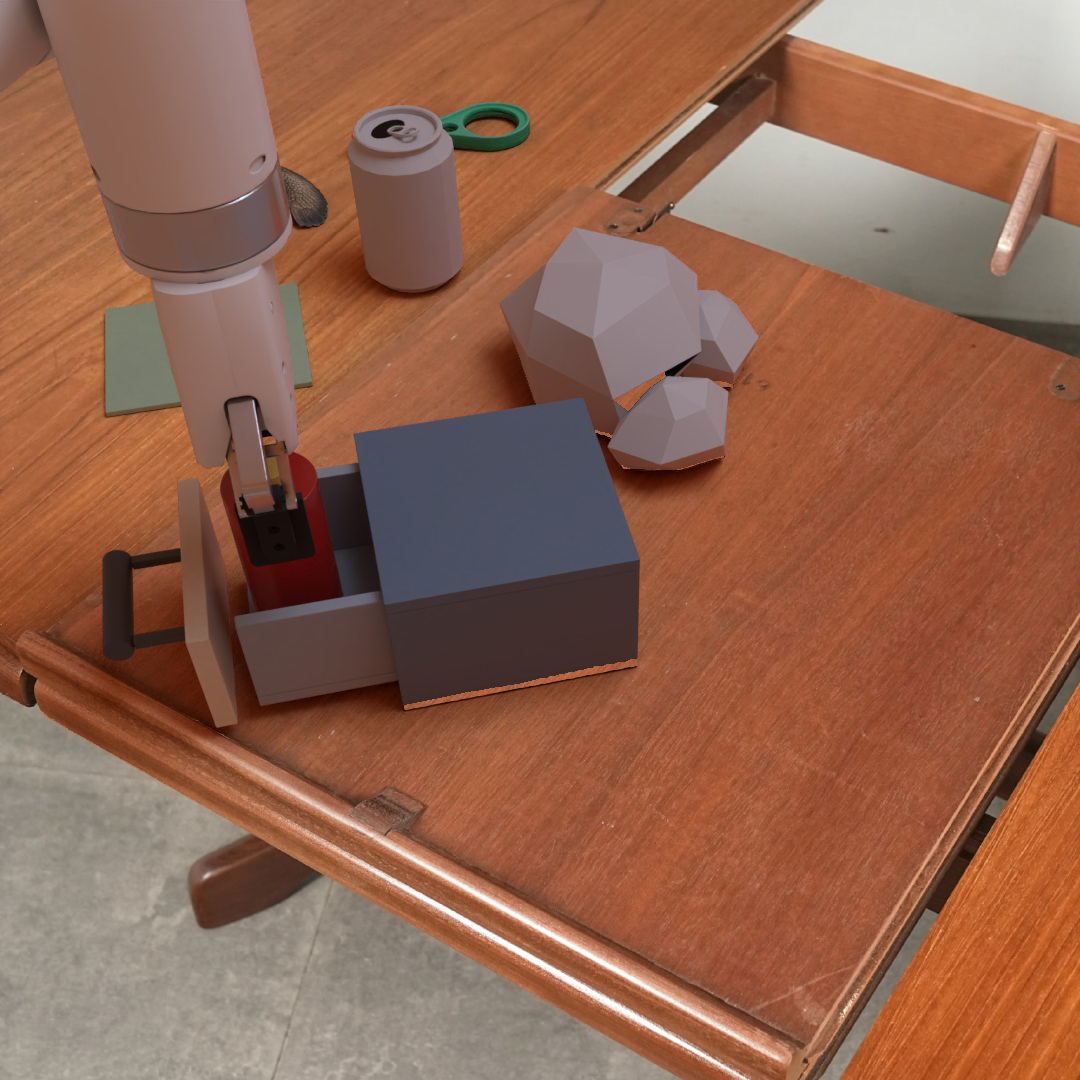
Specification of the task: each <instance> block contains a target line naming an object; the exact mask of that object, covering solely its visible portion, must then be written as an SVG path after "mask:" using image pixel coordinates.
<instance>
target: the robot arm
mask: <svg viewBox="0 0 1080 1080" xmlns="http://www.w3.org/2000/svg"><path fill="white" fill-rule="evenodd" d="M53 59H55V61H56V63H57V64H56V65H57V67H58V70H59V73H60V76H61V79H62V82H63V85H64V88H65V91H66V94H67V97H68V100H69V103H70V107H71V110H72V113H73V115H74V118H75V119H74V120H75V122H76V124H77V128H78V130H79V134H80V137H81V139H82V143H83V146H84V149H85V152H86V155H87V158H88V161H89V165H90V168H91V170H92V173H93V177H94V179H95V182H96V185H97V189H98V191H99V194H100V197H101V200H102V203H103V207H104V210H105V212H106V215H107V216H106V217H107V218H108V221H109V224H110V227H111V231H112V233H113V237H114V240H115V241H116V246H117V249H118V252H119V255H120V257H121V259H122V261H123V262H124V263H125V264H126V265H127V266H128V268H130V269H131V270H133V271H134V272H136V273H138V274H140V275H142V276H144V277H147V278H148V279H149V281H150V288H151V292H152V296H153V302H155V306H156V311H157V315H158V319H159V324H160V328H161V332H162V336H163V340H164V344H165V347H166V351H167V355H168V359H169V363H170V366H171V370H172V374H173V377H174V381H175V384H176V388H177V391H178V395H179V398H180V402H181V406H180V407H181V410H182V413H183V416H184V420H185V423H186V427H187V430H188V435H189V438H190V442H191V446H192V449H193V455H194V457H195V461H196V462H197V464H198V465H200V466H201V467H203V468H204V469H206V470H212V468H218V467H223V466H224V464H225V461H226V463H227V467H228V468H229V472H230V477H231V482H232V487H233V491H234V496H235V501H236V503H234V507H235V513H236V516H237V519H238V522H239V526H240V529H241V532H242V535H243V539H244V542H245V545H246V549H247V552H248V555H249V558H250V562H251V564H252V565H253V566H257V567H261V566H266V565H272V564H278V563H283V562H289V561H294V560H300V559H306V558H310V557H312V556H314V555H315V544H314V540H313V536H312V532H311V528H310V524H309V520H308V516H307V512H306V508H305V504H304V500H303V496H302V492H298V493H296V492H295V487H294V483H293V478H292V473H291V468H290V463H289V458H288V455H290V454H292V453H293V452H295V451H296V449H297V448H298V446H299V444H300V441H299V429H298V428H299V424H298V416H297V414H298V413H297V402H296V393H295V392H296V391H295V389H294V380H293V370H292V361H291V353H290V345H289V339H288V333H287V326H286V321H285V316H284V310H283V305H282V299H281V294H280V290H279V285H280V284H279V280H278V276H277V272H276V266H275V264H274V257H275V256H276V255H278V253H279V252H280V251H281V250H282V249H283V248H284V247H285V246H286V245H287V243H288V241H289V239H290V237H291V235H292V232H293V218H292V217H293V216H292V213H291V211H290V209H289V203H288V198H287V194H286V189H285V184H284V180H283V175H282V170H281V166H282V165H281V161H280V157H279V153H278V148H277V143H276V138H275V135H274V134H275V133H274V129H273V125H272V120H271V116H270V115H271V114H270V111H269V106H268V102H267V96H266V91H265V88H264V83H263V82H264V81H263V77H262V74H261V69H260V63H259V59H258V55H257V49H256V46H255V41H254V36H253V31H252V27H251V22H250V17H249V13H248V8H247V3H246V0H0V95H1V94H2V93H4V92H5V91H6V90H7V89H9V87H11V86H12V85H13V84H15V82H17V81H19V79H21V78H22V77H23V76H24V75H25V74H27V73H28V72H29V71H31V70H32V69H34V68H36V67H38V66H39V65H42V64H45V63H46V62H48V61H50V60H53ZM270 437H273V438H274V439H275V443H270V444H265V443H264V438H270ZM287 452H288V453H287ZM270 457H276V461H277V466H278V471H279V476H280V481H281V485H279V484H274V485H272V481H271V478H270V475H269V470H268V466H267V460H266V458H270Z"/></svg>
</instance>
